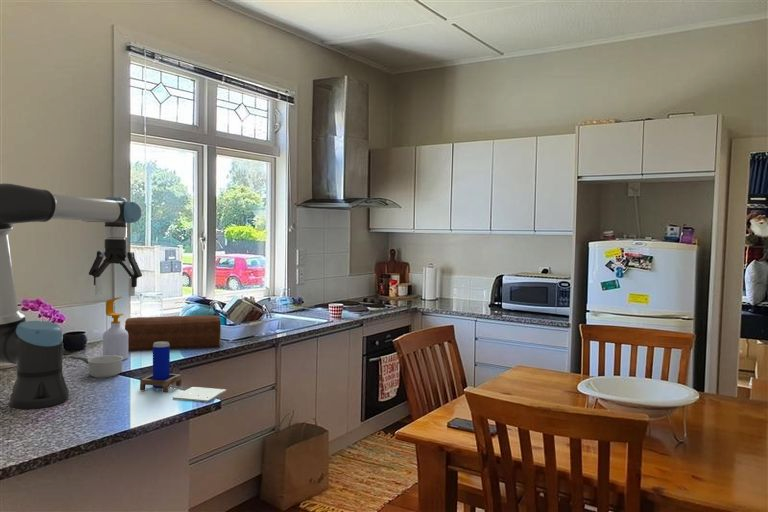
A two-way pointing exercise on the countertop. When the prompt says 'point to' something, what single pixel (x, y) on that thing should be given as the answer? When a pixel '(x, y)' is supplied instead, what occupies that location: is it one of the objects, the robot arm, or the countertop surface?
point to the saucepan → (103, 365)
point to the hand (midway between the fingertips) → (115, 295)
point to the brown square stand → (160, 382)
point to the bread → (173, 332)
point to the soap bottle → (115, 334)
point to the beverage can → (161, 362)
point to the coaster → (200, 394)
